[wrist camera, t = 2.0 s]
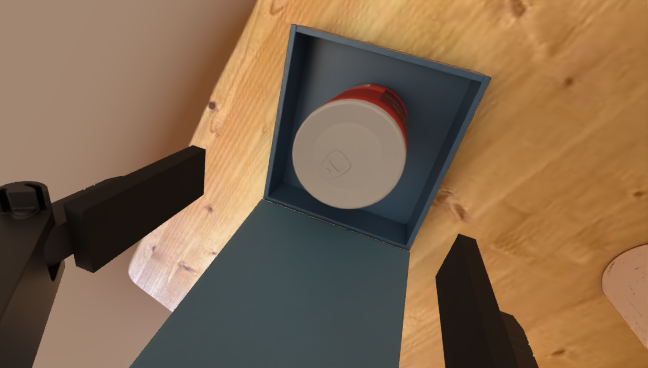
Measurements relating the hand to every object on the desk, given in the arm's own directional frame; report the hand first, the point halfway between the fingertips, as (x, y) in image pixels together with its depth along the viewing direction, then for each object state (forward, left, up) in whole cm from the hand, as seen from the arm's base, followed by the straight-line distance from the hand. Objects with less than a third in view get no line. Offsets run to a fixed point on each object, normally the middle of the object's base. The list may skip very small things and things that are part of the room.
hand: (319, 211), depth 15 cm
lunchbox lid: (+7, +8, -4) cm, 11 cm away
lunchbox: (+1, +1, -18) cm, 18 cm away
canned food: (0, 0, -17) cm, 17 cm away
